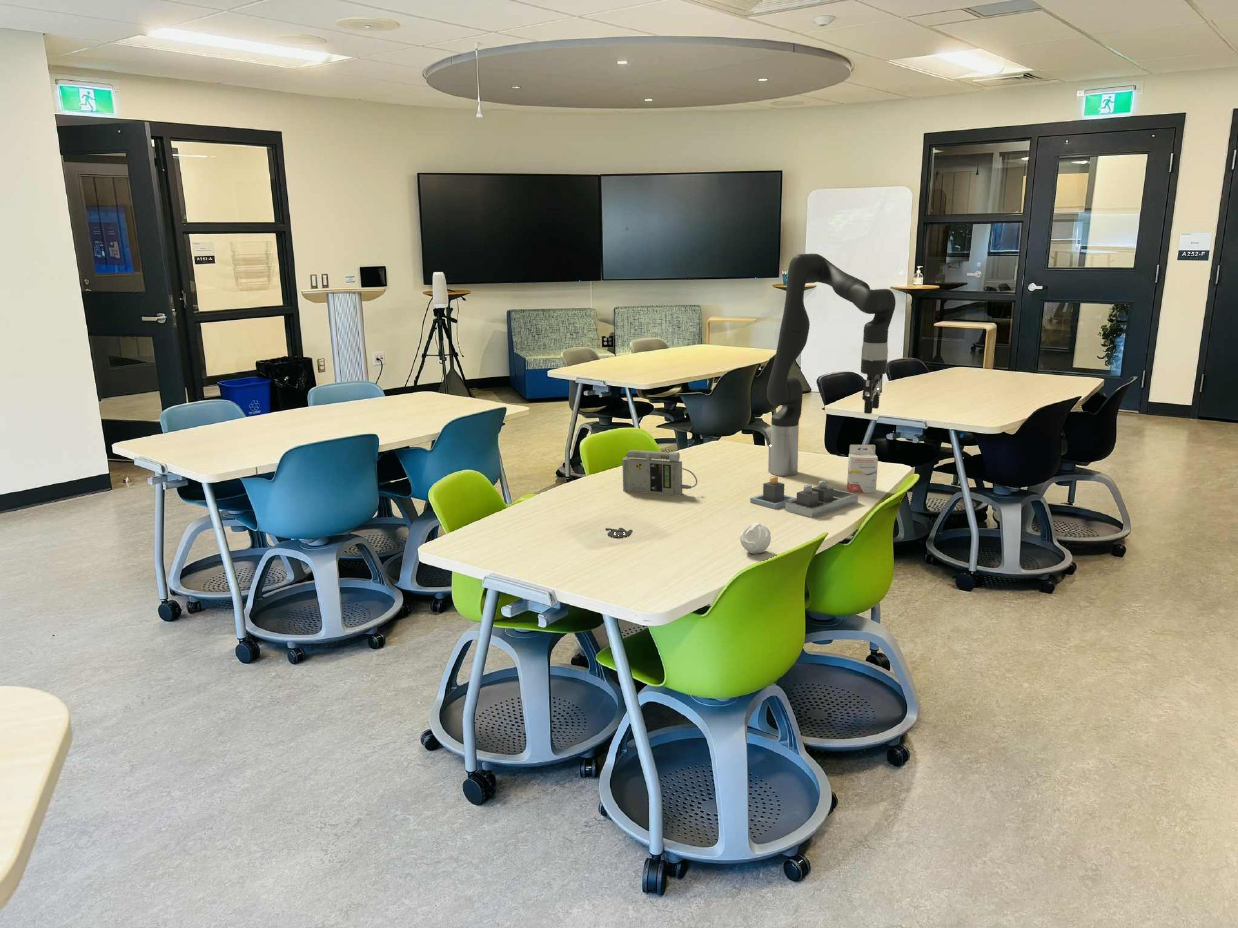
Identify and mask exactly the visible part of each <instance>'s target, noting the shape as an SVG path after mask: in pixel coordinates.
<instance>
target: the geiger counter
mask: <svg viewBox="0 0 1238 928" xmlns="http://www.w3.org/2000/svg"><path fill="white" fill-rule="evenodd" d="M680 455H681V454H680V452H679V451H670V452H666V451H665V452H664V451H663V452H662V451H649V450H634V449H633V450H632V449H631V450H630V449H629V450H628V451H627V452H626V453H625V457H623V458H622V462H621V463H622V491H623V492H630V493H631V492H632V493H641V494H643V493H644V494H654V495H665V496H677V497H679V496H682V494H683V489H685V490H688V489H689V490H691V489H692V488H694V487H696V486H697V485H698V479H697V476H696V475H695V474H694V472H692V471H691V470H689V469H687V468H684V467H683V461H682V460H680V457H681V456H680ZM683 470H684V471H686V472H689V473H690V474H691V475H692V476H693V477H694V479H695V484H694V485H690V484H689V485H688V484H683Z"/></svg>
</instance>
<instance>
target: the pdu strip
mask: <svg viewBox="0 0 1238 928" xmlns="http://www.w3.org/2000/svg"><path fill="white" fill-rule="evenodd" d="M796 501H797V499H794V500H791V501H788V502H785V506H784V508H785V510H784V511H785V512H788V513H793V514H796V515H799V516H800V515H801V516H804V517H807V518H811V519H812V518H815V517H820V516H821V515H826V514H828V513H831V512H835V511H838V510H840V509H841V510H842V509H843V508H846V507H849V506H853V505H856V504H859V493H855V492H849V491H847V490H846V491H845V490H841V489H837V488H836V489H835V488H833V501H831V502H828V503H825V502H821V501H818V506H816V507H813V508H811V507H807V506H803V505H799V504H796Z"/></svg>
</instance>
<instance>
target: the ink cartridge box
mask: <svg viewBox="0 0 1238 928" xmlns="http://www.w3.org/2000/svg"><path fill="white" fill-rule="evenodd" d="M862 448H863V449H862ZM878 457H879V456H877V454H876V445H875V444H850V445H849V453H848V461H847V462H848V464H847V465H848V466H847V480H846V481H847V483H846V489H847V492H850V493H856V494H860V493H861V494H862V493H865V494H867V493H868V494H872V493H873V494H874V493H875V494H877V479H878V463H879V458H878Z"/></svg>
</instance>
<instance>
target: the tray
mask: <svg viewBox="0 0 1238 928" xmlns="http://www.w3.org/2000/svg"><path fill="white" fill-rule="evenodd" d="M749 499H750V502H749V503H750V504H754V505H758V506H762V507H765V508H769V509H772V510H778V509H781V508H785V502H788V501H791V500H794V499H797V497H793V496H789V495H785V494H784V501H781V502H778V503H772V502H768V501H764V500H763V494H760V495H757V496H753V497H750V498H749Z"/></svg>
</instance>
